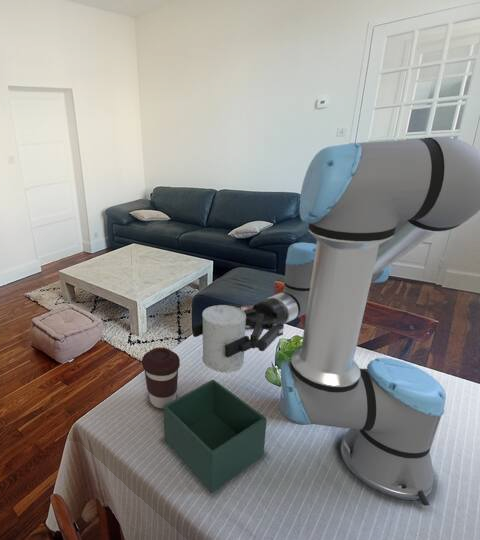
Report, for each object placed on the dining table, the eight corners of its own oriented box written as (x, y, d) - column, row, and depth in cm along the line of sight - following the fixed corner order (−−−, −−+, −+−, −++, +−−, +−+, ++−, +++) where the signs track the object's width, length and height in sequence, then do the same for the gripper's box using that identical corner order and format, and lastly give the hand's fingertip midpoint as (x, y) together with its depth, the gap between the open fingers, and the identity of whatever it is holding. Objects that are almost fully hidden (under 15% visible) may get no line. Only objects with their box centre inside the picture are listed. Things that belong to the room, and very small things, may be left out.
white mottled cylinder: (248, 354, 82) (250, 309, 78) (238, 377, 75) (240, 329, 70) (209, 345, 87) (210, 302, 83) (196, 365, 80) (196, 320, 75)
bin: (263, 455, 75) (266, 418, 71) (211, 493, 68) (212, 454, 64) (212, 412, 88) (213, 379, 84) (164, 440, 81) (163, 405, 77)
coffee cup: (139, 394, 96) (135, 349, 91) (169, 383, 99) (168, 340, 94) (154, 417, 88) (151, 370, 82) (187, 405, 91) (186, 359, 85)
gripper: (314, 343, 78) (248, 380, 68) (239, 309, 97) (178, 334, 87) (318, 315, 76) (250, 349, 66) (240, 285, 94) (177, 309, 84)
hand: (209, 341), depth 76 cm, fingers closed on white mottled cylinder, 9 cm apart
